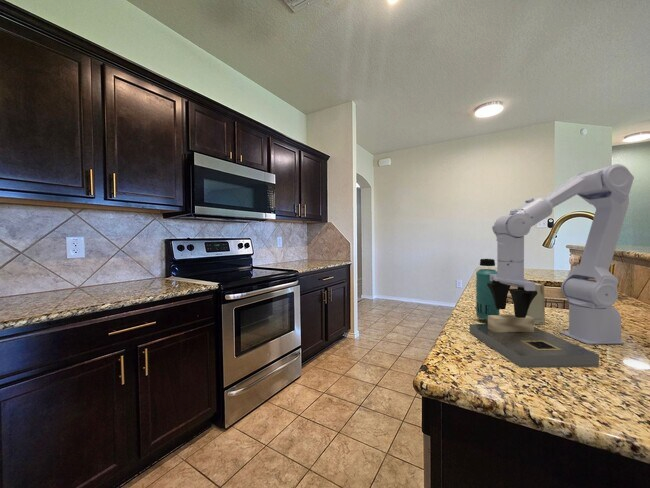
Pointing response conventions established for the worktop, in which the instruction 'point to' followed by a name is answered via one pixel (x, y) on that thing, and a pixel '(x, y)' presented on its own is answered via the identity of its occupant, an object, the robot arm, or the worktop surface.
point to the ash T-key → (510, 323)
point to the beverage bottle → (485, 291)
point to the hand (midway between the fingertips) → (510, 312)
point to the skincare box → (538, 306)
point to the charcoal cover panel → (535, 348)
